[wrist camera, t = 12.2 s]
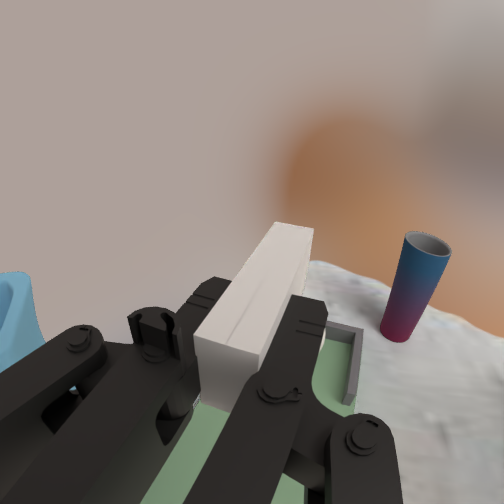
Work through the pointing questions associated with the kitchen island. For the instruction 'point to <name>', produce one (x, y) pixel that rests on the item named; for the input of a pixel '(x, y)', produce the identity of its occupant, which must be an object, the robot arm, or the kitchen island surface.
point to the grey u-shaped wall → (355, 339)
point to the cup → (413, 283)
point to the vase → (17, 319)
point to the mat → (213, 420)
